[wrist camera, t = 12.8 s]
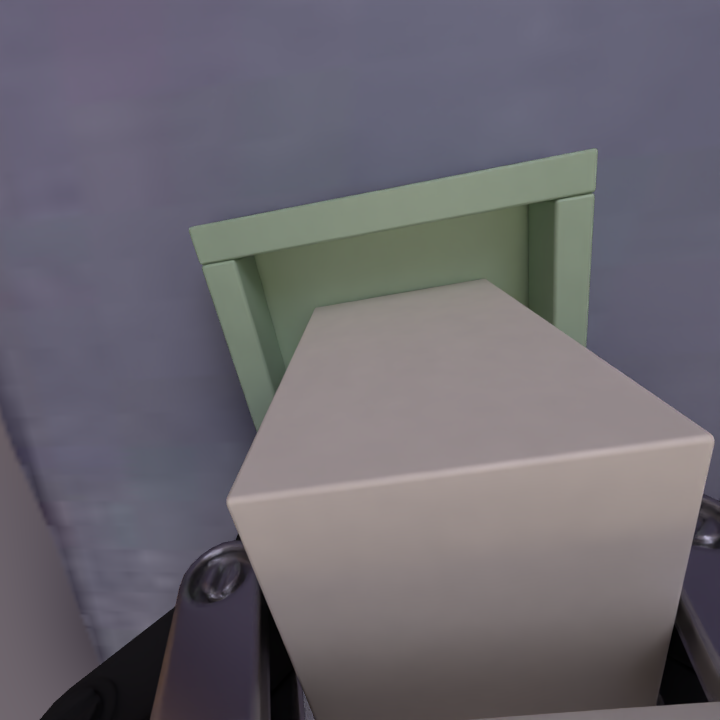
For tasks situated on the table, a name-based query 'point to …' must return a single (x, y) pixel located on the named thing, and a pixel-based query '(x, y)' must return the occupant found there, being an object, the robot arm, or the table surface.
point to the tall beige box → (467, 513)
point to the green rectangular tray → (400, 255)
